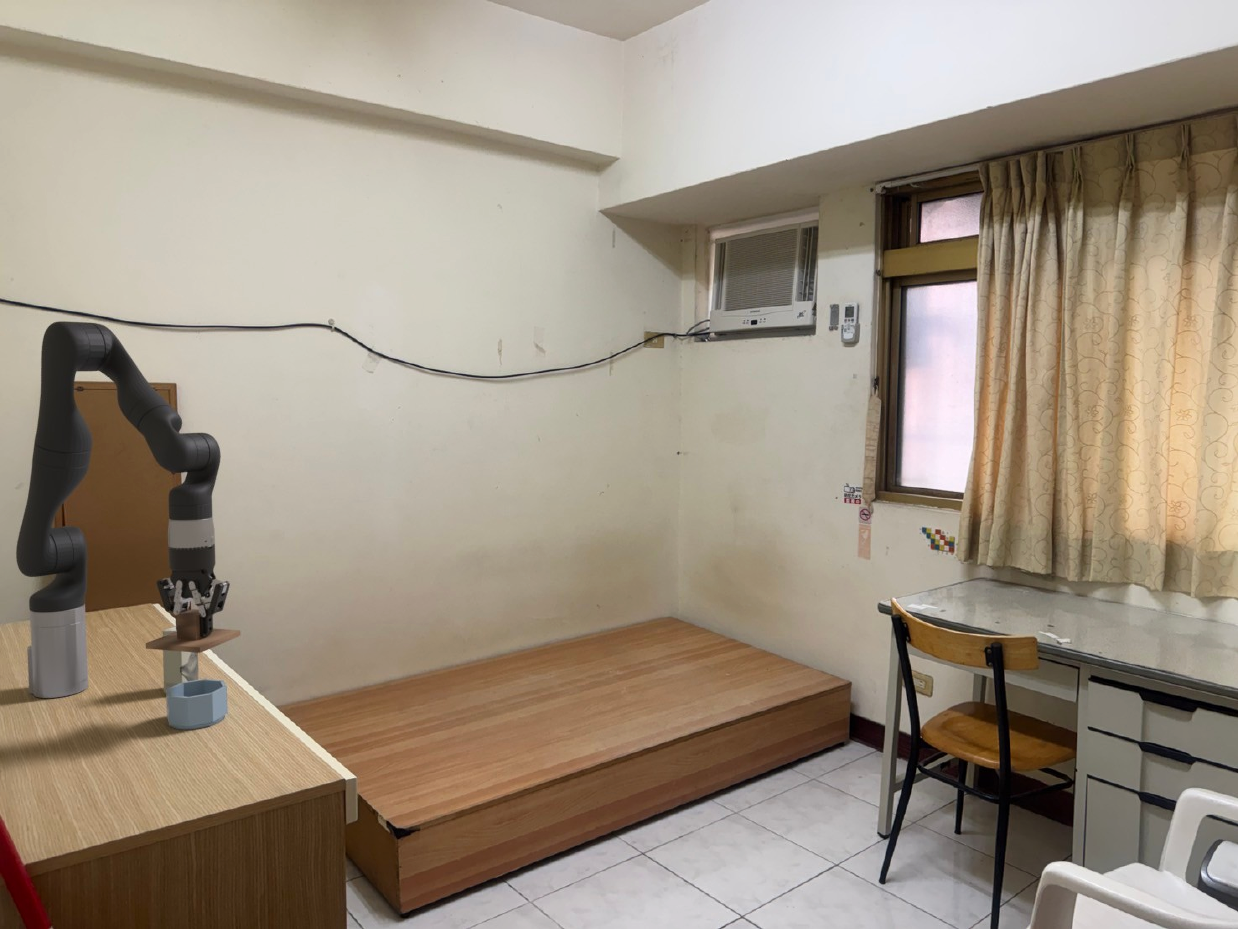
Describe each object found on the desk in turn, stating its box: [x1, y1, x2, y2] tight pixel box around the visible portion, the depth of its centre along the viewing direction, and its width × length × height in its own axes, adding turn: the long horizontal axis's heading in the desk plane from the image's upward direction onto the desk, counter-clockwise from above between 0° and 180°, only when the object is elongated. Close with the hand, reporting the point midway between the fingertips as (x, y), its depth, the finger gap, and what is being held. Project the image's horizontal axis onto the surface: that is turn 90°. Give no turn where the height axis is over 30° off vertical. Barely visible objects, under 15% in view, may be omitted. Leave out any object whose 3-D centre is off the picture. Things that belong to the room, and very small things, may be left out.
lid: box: [145, 608, 242, 654], centre depth 151 cm, size 11×11×6 cm
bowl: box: [165, 678, 229, 731], centre depth 153 cm, size 10×10×6 cm
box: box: [162, 625, 200, 693], centre depth 168 cm, size 5×4×13 cm
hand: (194, 634), depth 152 cm, fingers closed on lid, 4 cm apart
